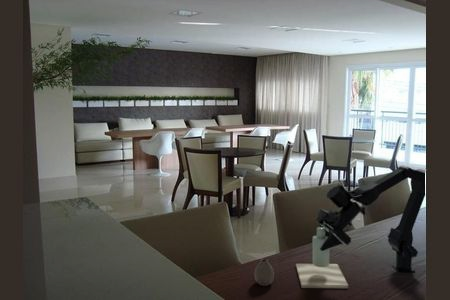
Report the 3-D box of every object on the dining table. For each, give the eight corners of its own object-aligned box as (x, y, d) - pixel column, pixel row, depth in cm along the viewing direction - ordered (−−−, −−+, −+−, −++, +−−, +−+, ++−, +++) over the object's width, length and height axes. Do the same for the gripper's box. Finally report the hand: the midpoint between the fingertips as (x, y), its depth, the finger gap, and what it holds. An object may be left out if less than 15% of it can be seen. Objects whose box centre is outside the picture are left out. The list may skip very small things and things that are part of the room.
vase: (277, 283, 145) (277, 259, 144) (266, 289, 140) (265, 265, 139) (262, 277, 149) (262, 255, 148) (250, 284, 144) (250, 260, 143)
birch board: (348, 288, 140) (348, 285, 139) (301, 287, 141) (301, 284, 140) (337, 266, 157) (337, 264, 157) (296, 266, 158) (296, 263, 158)
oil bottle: (332, 264, 147) (333, 229, 145) (319, 268, 144) (320, 232, 143) (321, 259, 152) (321, 225, 151) (309, 262, 150) (309, 227, 148)
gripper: (320, 195, 155) (293, 225, 155) (343, 208, 137) (312, 242, 137) (339, 213, 158) (313, 243, 157) (364, 228, 139) (334, 262, 139)
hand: (317, 247), depth 147 cm, fingers closed on oil bottle, 6 cm apart
